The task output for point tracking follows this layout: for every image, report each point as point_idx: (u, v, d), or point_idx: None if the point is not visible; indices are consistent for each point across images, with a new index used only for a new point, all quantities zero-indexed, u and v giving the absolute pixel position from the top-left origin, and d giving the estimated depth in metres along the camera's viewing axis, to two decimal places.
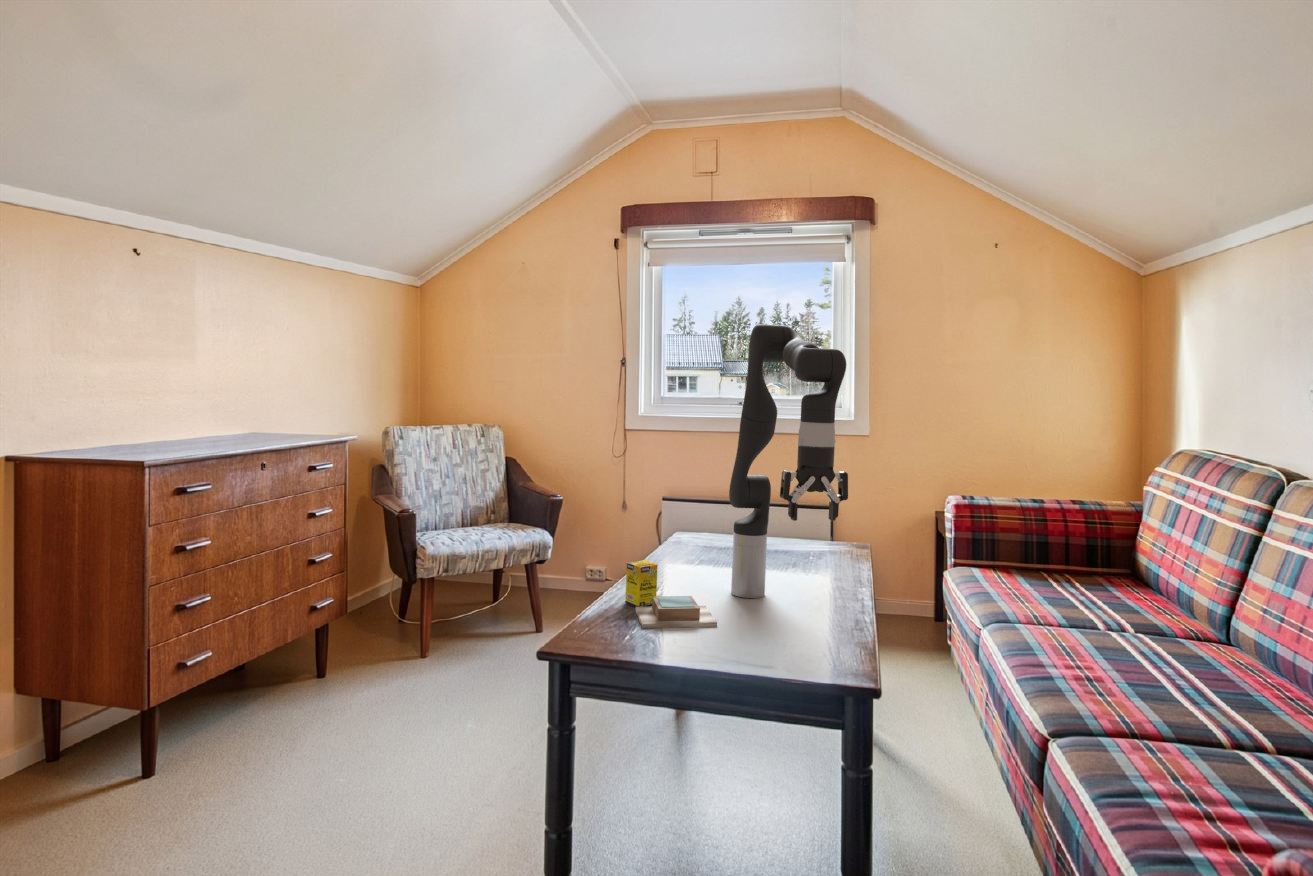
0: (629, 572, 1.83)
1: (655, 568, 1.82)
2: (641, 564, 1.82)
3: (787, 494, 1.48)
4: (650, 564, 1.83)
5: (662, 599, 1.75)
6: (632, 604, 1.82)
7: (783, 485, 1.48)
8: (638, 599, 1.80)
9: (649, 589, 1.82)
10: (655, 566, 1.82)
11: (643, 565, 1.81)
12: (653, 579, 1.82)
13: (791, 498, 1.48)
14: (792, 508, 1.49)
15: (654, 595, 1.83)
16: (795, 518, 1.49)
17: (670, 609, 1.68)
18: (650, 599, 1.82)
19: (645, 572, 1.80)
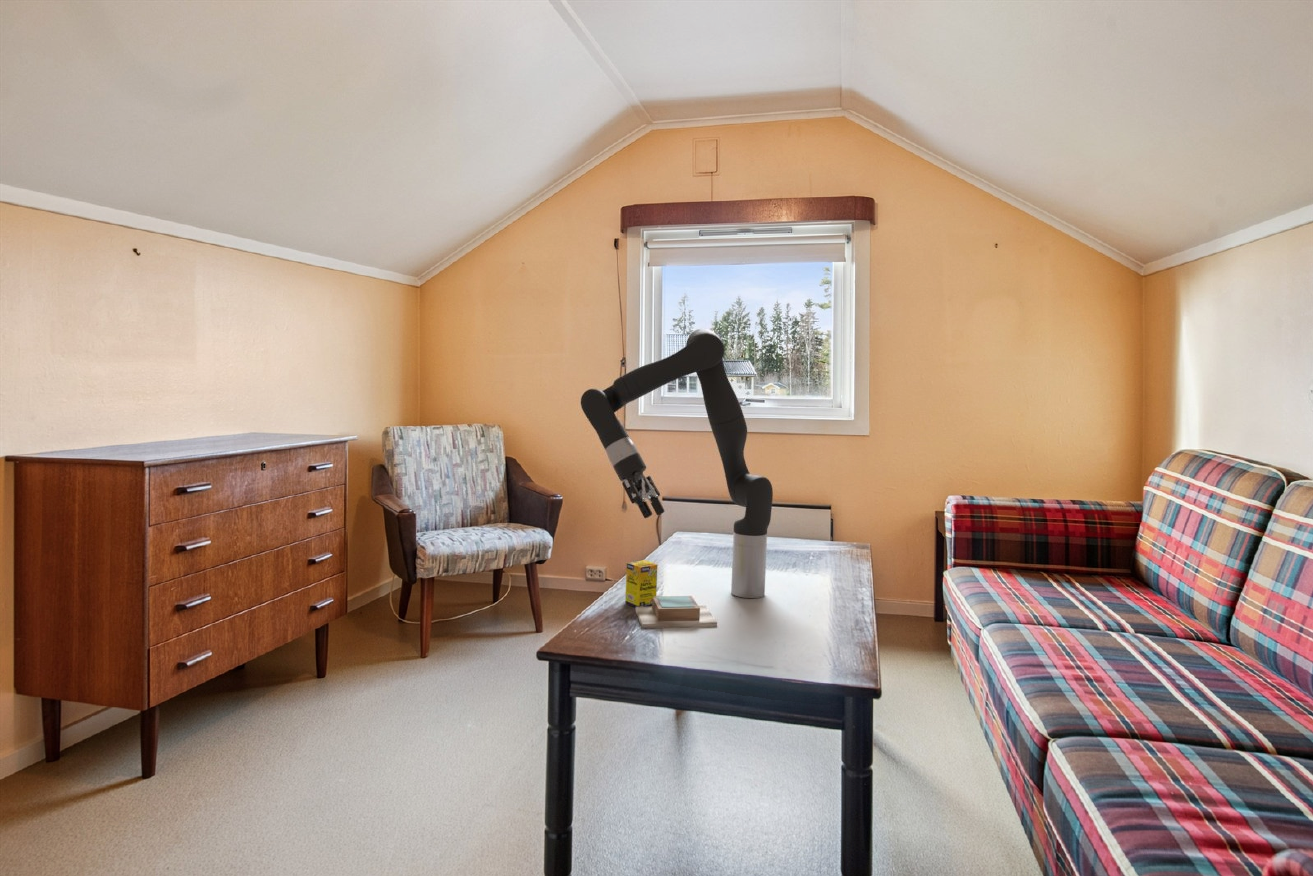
0: (629, 572, 1.83)
1: (655, 568, 1.82)
2: (641, 564, 1.82)
3: None
4: (650, 564, 1.83)
5: (662, 599, 1.75)
6: (632, 604, 1.82)
7: None
8: (638, 599, 1.80)
9: (649, 589, 1.82)
10: (655, 566, 1.82)
11: (643, 565, 1.81)
12: (653, 579, 1.82)
13: None
14: None
15: (654, 595, 1.83)
16: None
17: (670, 609, 1.68)
18: (650, 599, 1.82)
19: (645, 572, 1.80)
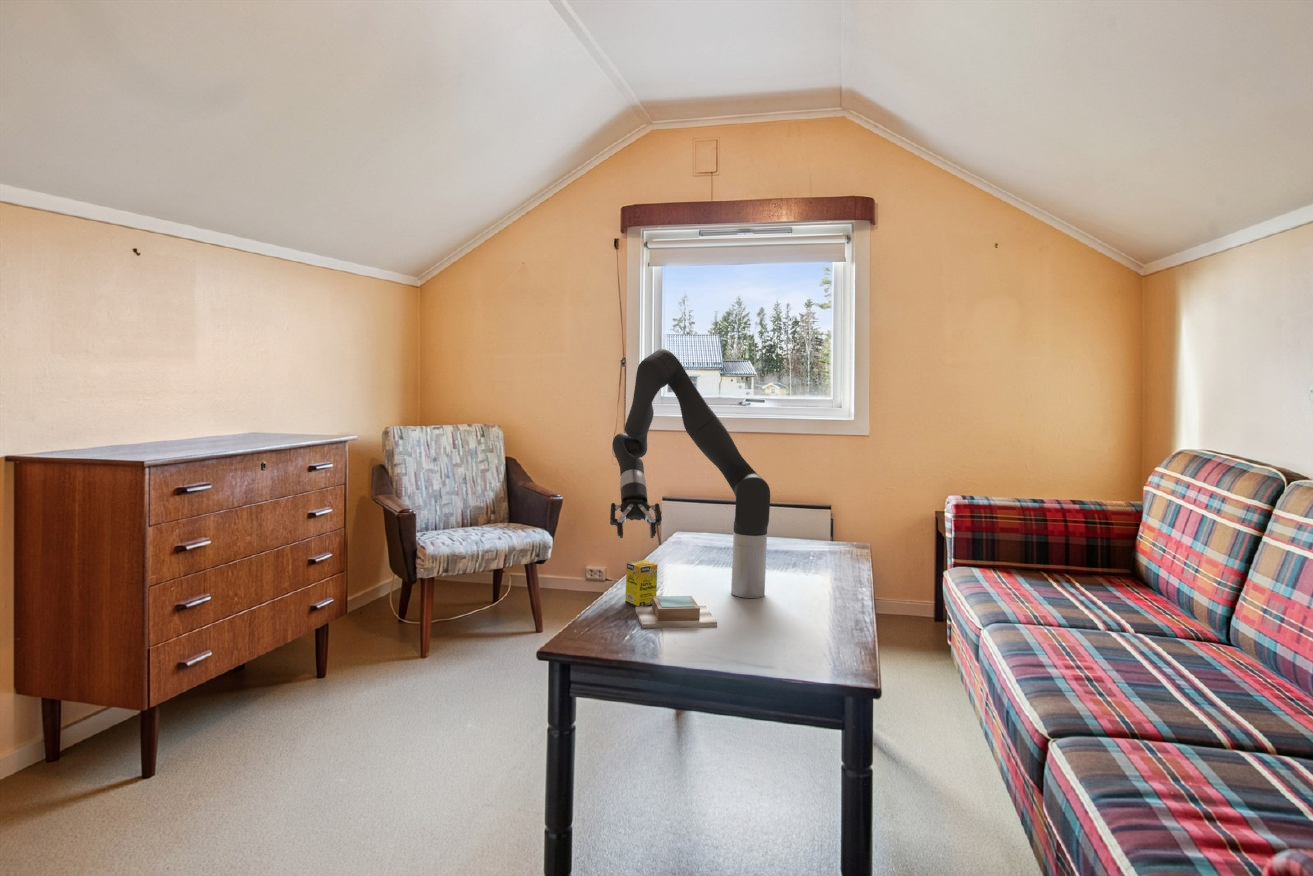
0: (629, 572, 1.83)
1: (655, 568, 1.82)
2: (641, 564, 1.82)
3: None
4: (650, 564, 1.83)
5: (662, 599, 1.75)
6: (632, 604, 1.82)
7: None
8: (638, 599, 1.80)
9: (649, 589, 1.82)
10: (655, 566, 1.82)
11: (643, 565, 1.81)
12: (653, 579, 1.82)
13: None
14: None
15: (654, 595, 1.83)
16: None
17: (670, 609, 1.68)
18: (650, 599, 1.82)
19: (645, 572, 1.80)
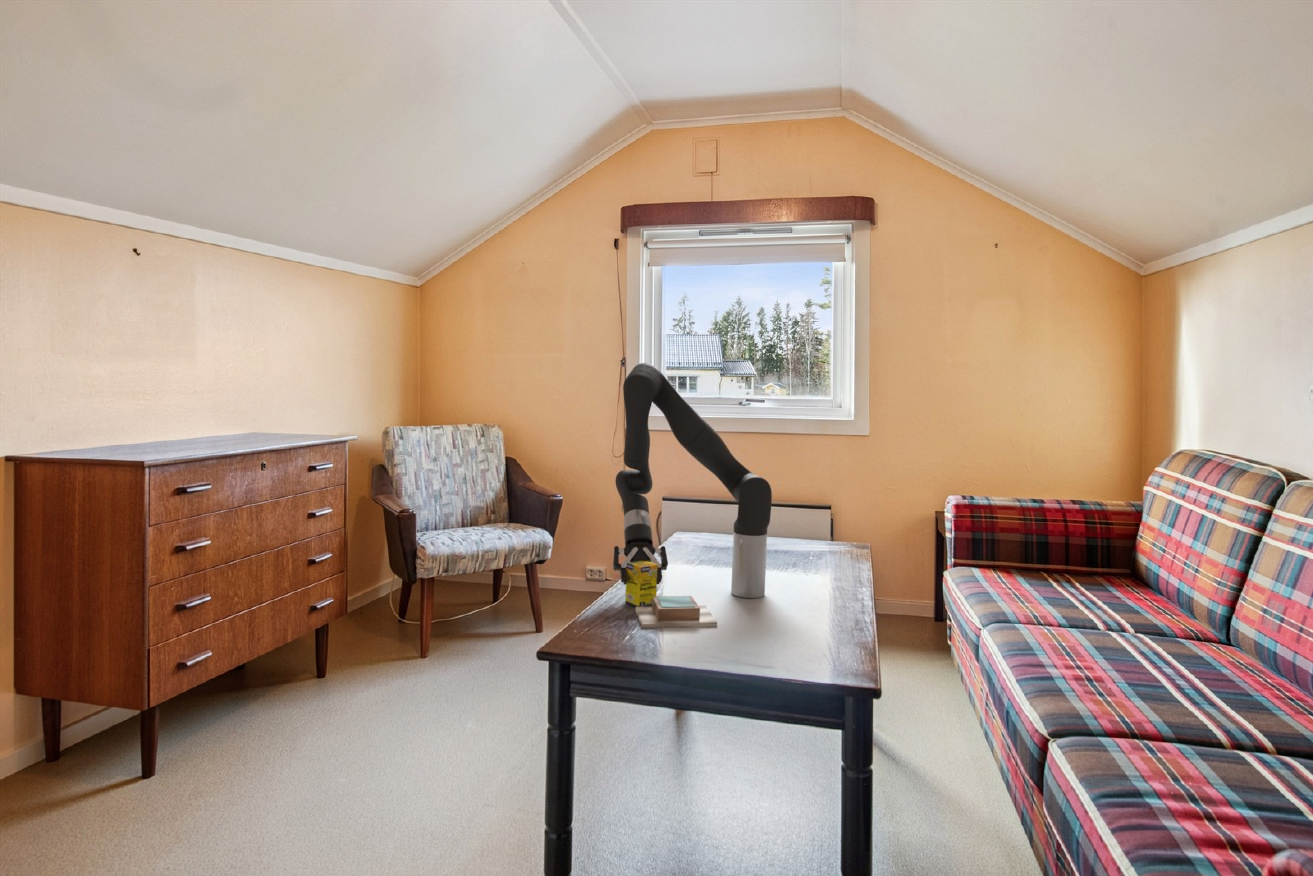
0: (629, 572, 1.83)
1: (655, 568, 1.82)
2: (641, 564, 1.82)
3: None
4: (650, 564, 1.83)
5: (662, 599, 1.75)
6: (632, 604, 1.82)
7: None
8: (638, 599, 1.80)
9: (649, 589, 1.82)
10: (655, 566, 1.82)
11: (643, 565, 1.81)
12: (653, 579, 1.82)
13: None
14: None
15: (654, 595, 1.83)
16: None
17: (670, 609, 1.68)
18: (650, 599, 1.82)
19: (645, 572, 1.80)
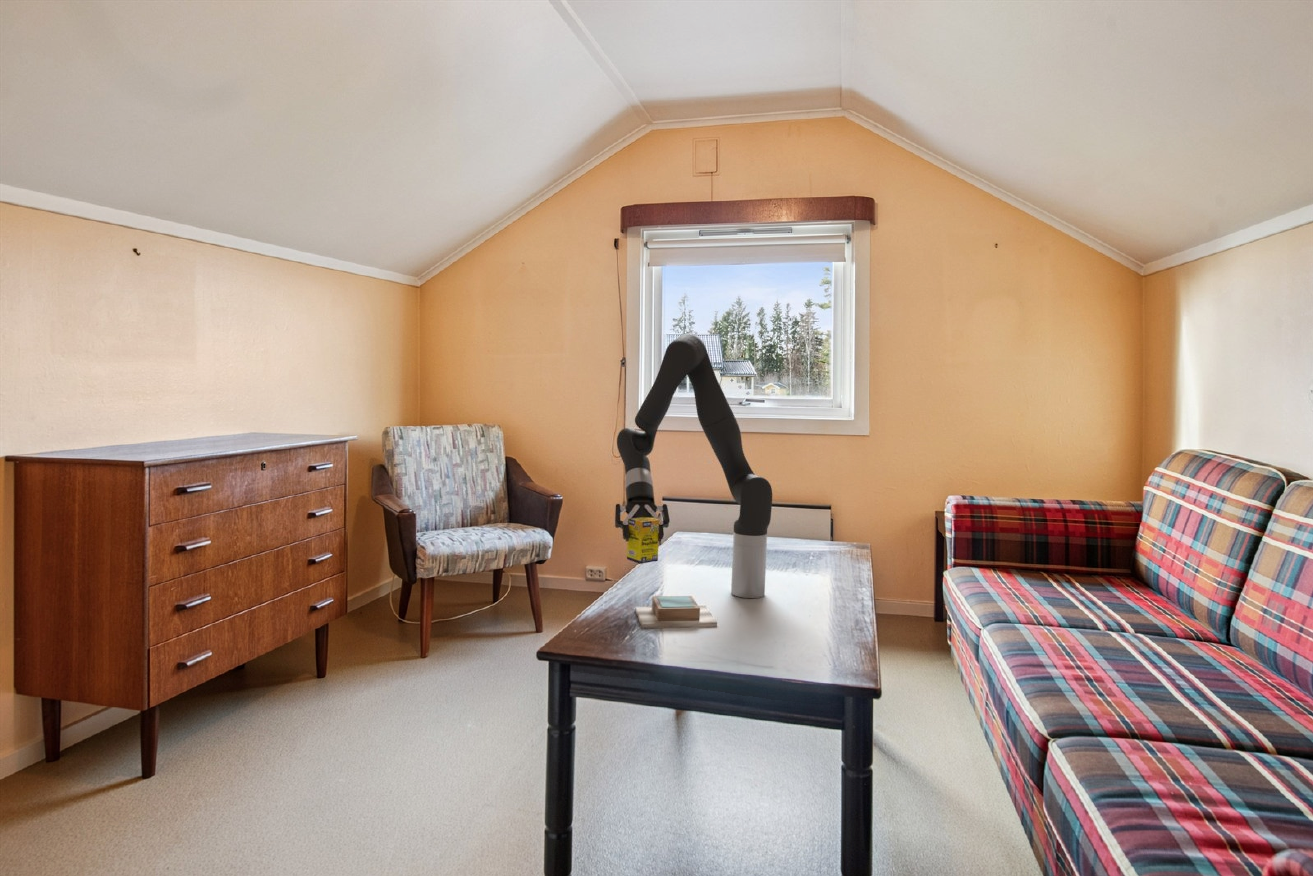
0: (630, 528, 1.82)
1: (657, 523, 1.82)
2: (642, 519, 1.81)
3: None
4: (652, 519, 1.82)
5: (662, 599, 1.75)
6: (634, 559, 1.81)
7: None
8: (639, 554, 1.79)
9: (650, 545, 1.81)
10: (657, 521, 1.82)
11: (644, 520, 1.80)
12: (655, 534, 1.82)
13: None
14: None
15: (656, 551, 1.82)
16: None
17: (670, 609, 1.68)
18: (652, 554, 1.82)
19: (646, 527, 1.80)
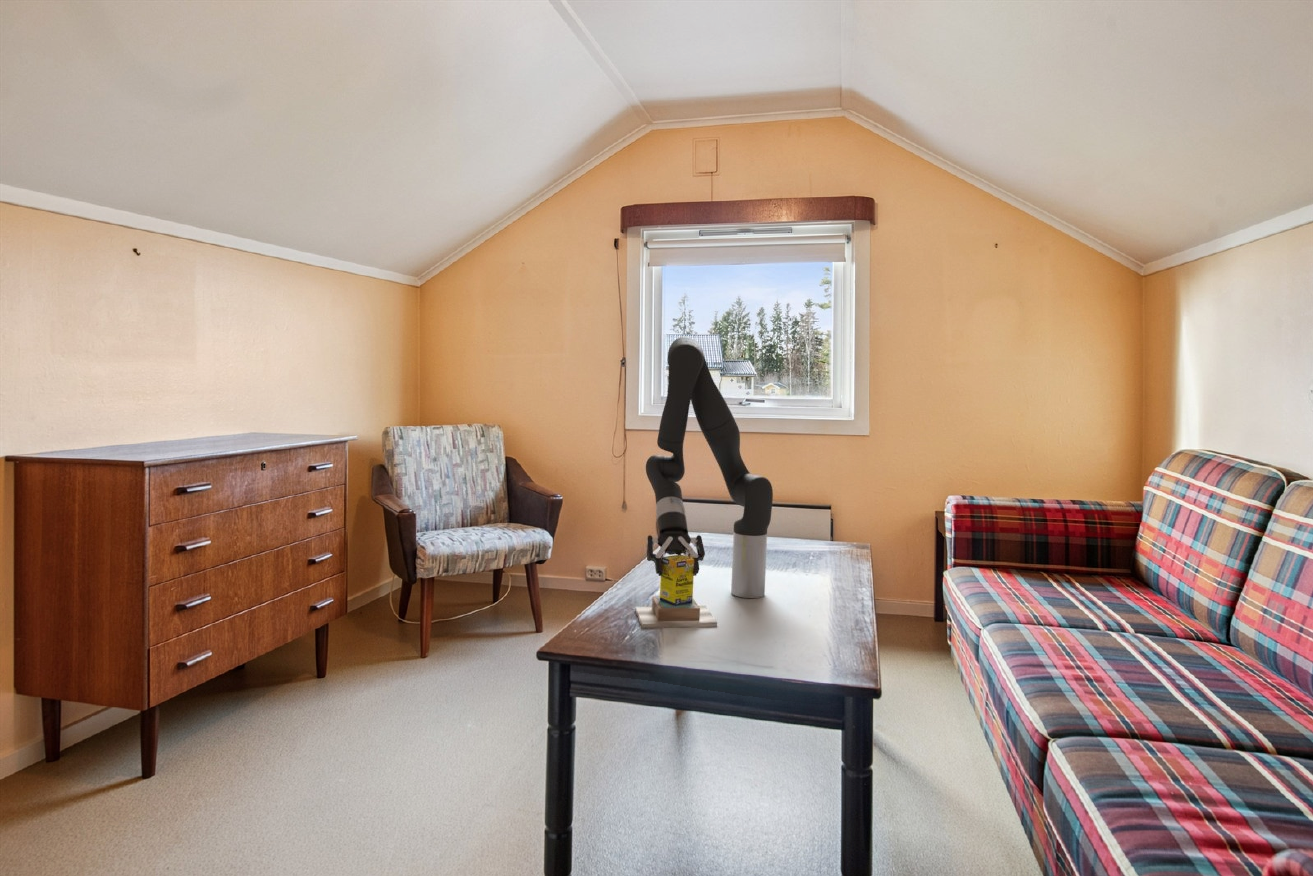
0: (664, 567, 1.72)
1: (692, 563, 1.72)
2: (677, 558, 1.72)
3: None
4: (686, 559, 1.72)
5: None
6: (667, 601, 1.72)
7: None
8: (673, 596, 1.70)
9: (685, 585, 1.71)
10: (692, 561, 1.72)
11: (679, 559, 1.71)
12: (689, 574, 1.72)
13: None
14: None
15: (691, 592, 1.73)
16: None
17: (670, 609, 1.68)
18: (687, 596, 1.72)
19: (681, 567, 1.70)
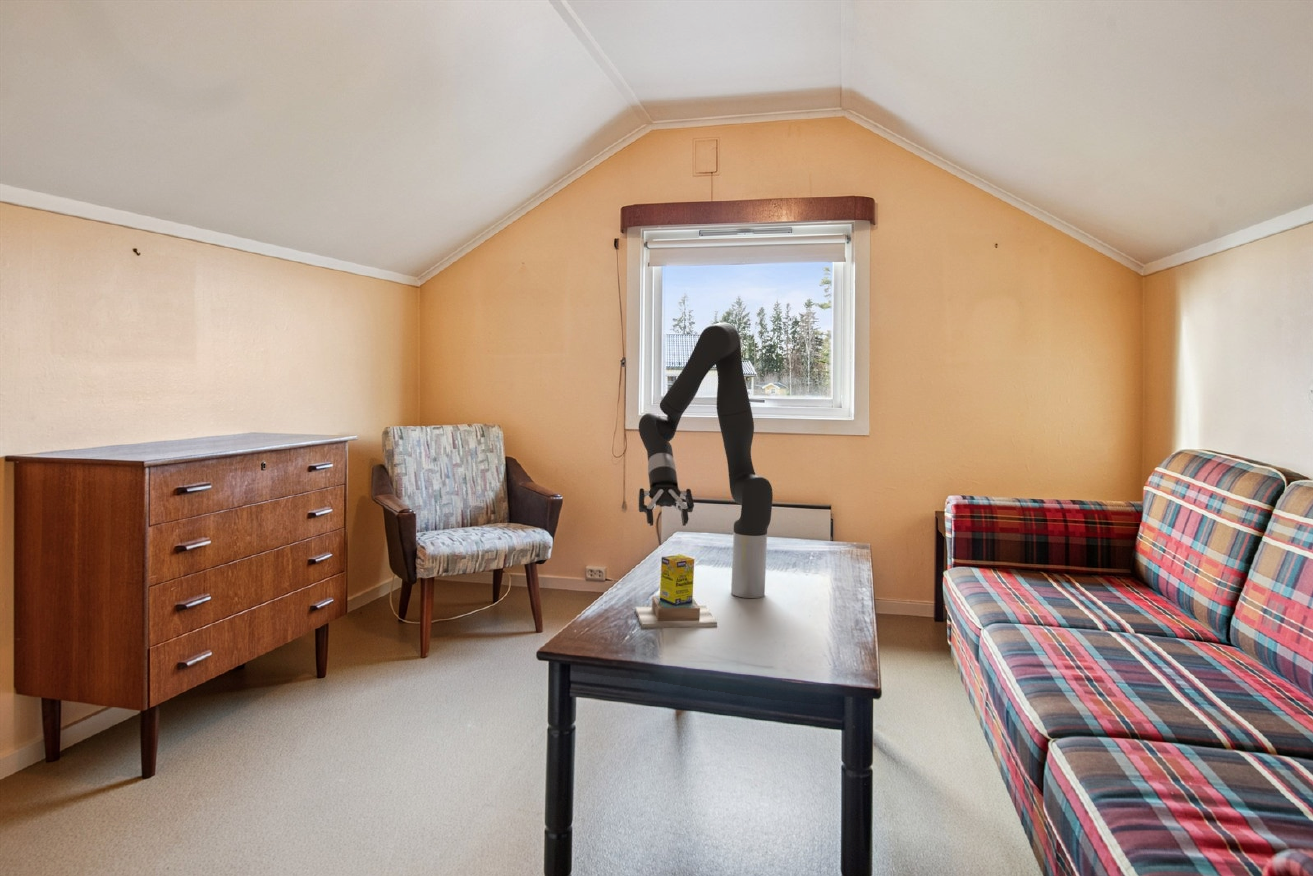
0: (664, 567, 1.72)
1: (692, 563, 1.72)
2: (677, 558, 1.72)
3: None
4: (686, 559, 1.72)
5: None
6: (667, 601, 1.72)
7: None
8: (673, 596, 1.70)
9: (685, 585, 1.71)
10: (692, 561, 1.72)
11: (679, 559, 1.71)
12: (689, 574, 1.72)
13: None
14: None
15: (691, 592, 1.73)
16: None
17: (670, 609, 1.68)
18: (687, 596, 1.72)
19: (681, 567, 1.70)
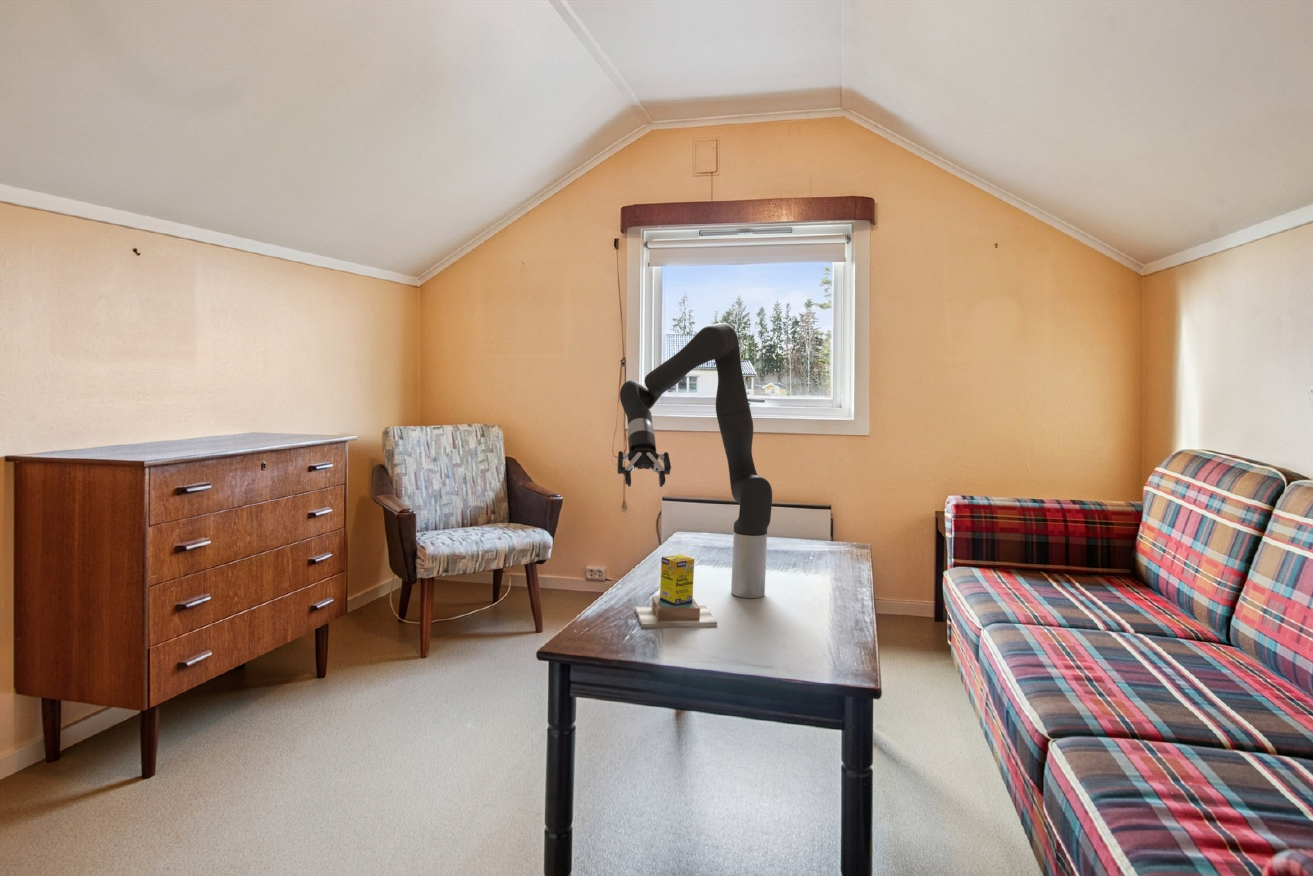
0: (664, 567, 1.72)
1: (692, 563, 1.72)
2: (677, 558, 1.72)
3: None
4: (686, 559, 1.72)
5: None
6: (667, 601, 1.72)
7: None
8: (673, 596, 1.70)
9: (685, 585, 1.71)
10: (692, 561, 1.72)
11: (679, 559, 1.71)
12: (689, 574, 1.72)
13: None
14: None
15: (691, 592, 1.73)
16: None
17: (670, 609, 1.68)
18: (687, 596, 1.72)
19: (681, 567, 1.70)
